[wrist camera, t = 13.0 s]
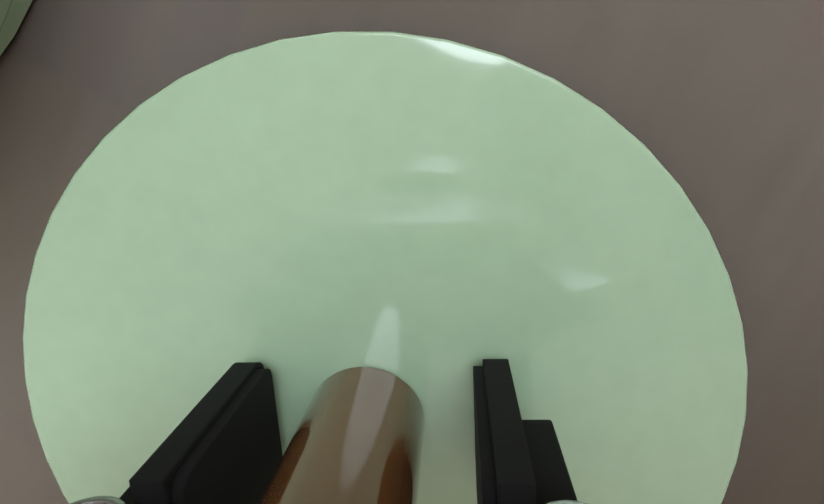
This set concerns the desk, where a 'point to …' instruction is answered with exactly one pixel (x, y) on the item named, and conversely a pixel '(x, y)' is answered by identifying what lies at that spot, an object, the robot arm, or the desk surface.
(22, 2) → the canister
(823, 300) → the desk surface
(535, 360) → the lid
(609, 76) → the desk surface
